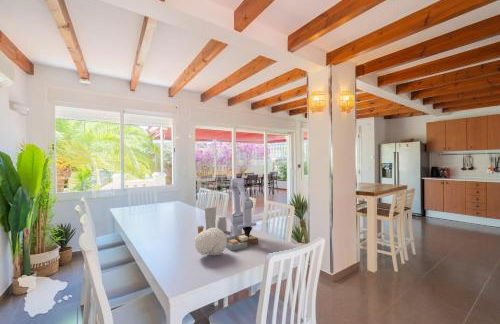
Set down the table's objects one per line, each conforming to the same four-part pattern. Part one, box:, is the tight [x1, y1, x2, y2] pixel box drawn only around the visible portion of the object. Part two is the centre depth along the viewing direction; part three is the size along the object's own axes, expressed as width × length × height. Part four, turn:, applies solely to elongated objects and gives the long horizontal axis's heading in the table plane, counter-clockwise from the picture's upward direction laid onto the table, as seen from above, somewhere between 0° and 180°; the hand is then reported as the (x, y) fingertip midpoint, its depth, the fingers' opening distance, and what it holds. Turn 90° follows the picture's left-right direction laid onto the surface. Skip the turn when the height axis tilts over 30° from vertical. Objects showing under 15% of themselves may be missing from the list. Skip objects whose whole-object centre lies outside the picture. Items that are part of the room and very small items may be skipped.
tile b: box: [239, 235, 248, 241], centre depth 161 cm, size 4×4×2 cm
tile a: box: [229, 239, 238, 245], centre depth 163 cm, size 4×4×2 cm
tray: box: [225, 236, 248, 252], centre depth 160 cm, size 16×12×4 cm
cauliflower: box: [194, 227, 227, 256], centre depth 142 cm, size 20×18×16 cm
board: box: [235, 232, 259, 247], centre depth 167 cm, size 14×10×4 cm
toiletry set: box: [197, 206, 227, 235], centre depth 187 cm, size 25×8×21 cm, turn 128°
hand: (247, 237), depth 163 cm, fingers closed
